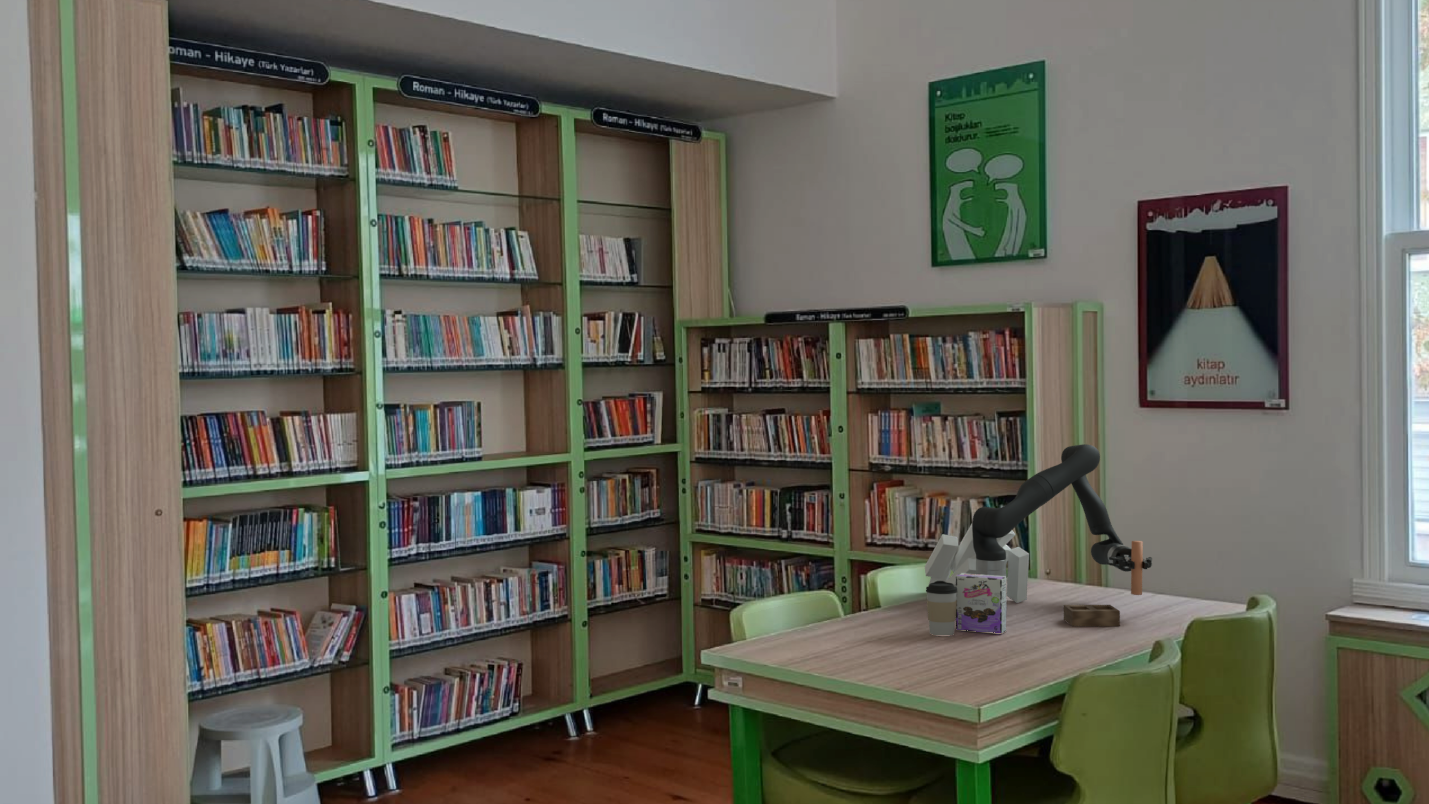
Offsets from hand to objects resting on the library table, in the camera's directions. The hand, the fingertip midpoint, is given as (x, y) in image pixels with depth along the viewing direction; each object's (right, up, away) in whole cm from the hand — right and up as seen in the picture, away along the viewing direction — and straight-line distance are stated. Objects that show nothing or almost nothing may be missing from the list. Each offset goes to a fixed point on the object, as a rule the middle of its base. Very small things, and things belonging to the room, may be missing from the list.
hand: (1139, 565), depth 377 cm
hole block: (-15, -17, 0) cm, 23 cm away
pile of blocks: (-42, -17, +38) cm, 58 cm away
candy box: (-50, -18, -10) cm, 54 cm away
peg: (0, -9, +3) cm, 9 cm away
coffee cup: (-62, -18, -14) cm, 66 cm away
